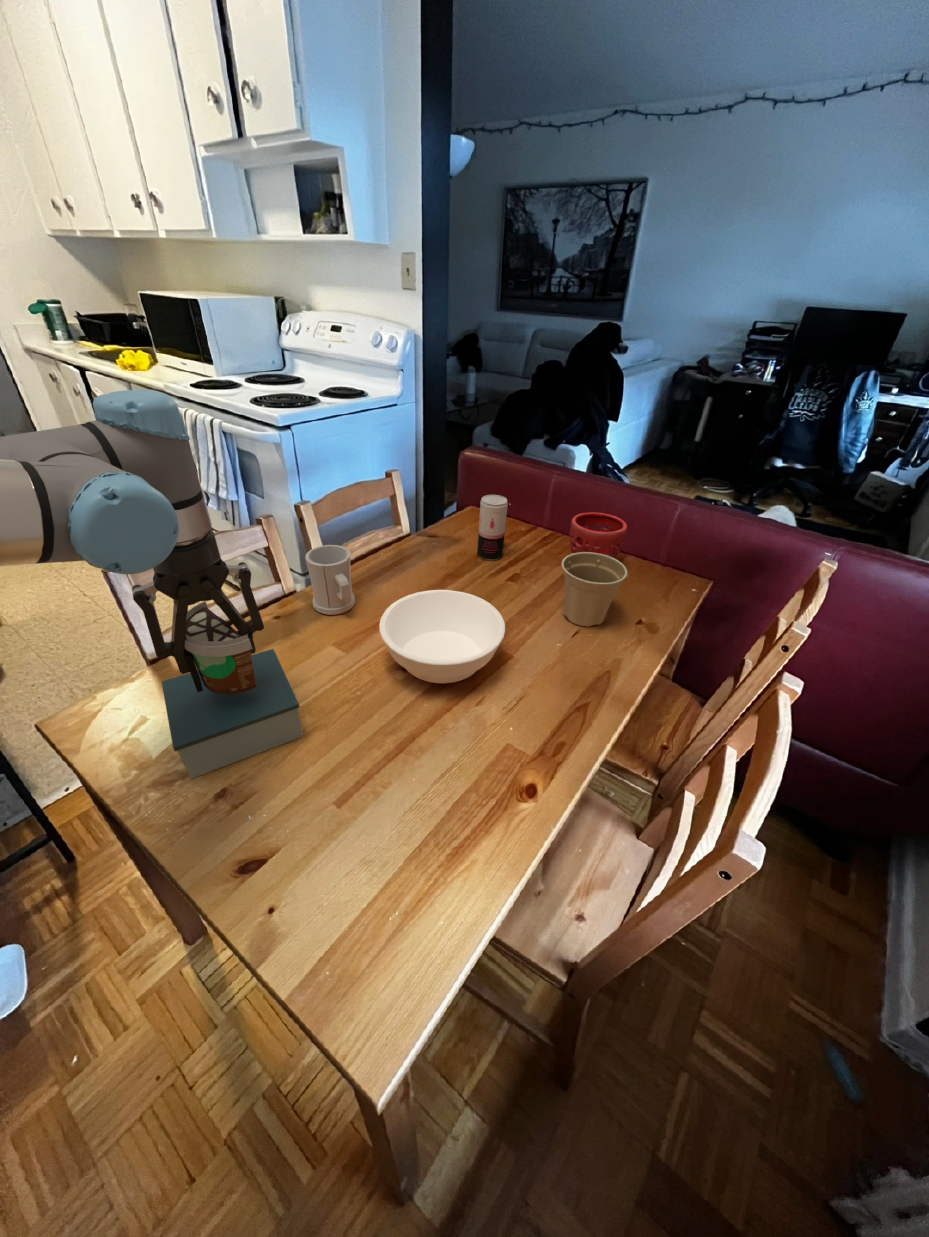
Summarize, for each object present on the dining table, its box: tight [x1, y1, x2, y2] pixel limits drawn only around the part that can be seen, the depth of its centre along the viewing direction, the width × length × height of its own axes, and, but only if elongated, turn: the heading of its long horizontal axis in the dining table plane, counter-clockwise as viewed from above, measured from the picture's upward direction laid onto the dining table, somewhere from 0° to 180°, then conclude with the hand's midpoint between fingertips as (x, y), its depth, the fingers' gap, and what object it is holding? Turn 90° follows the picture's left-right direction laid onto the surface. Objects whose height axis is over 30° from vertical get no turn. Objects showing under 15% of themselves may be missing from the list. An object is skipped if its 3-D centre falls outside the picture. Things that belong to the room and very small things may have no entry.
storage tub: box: [161, 648, 304, 780], centre depth 76 cm, size 17×15×7 cm
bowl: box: [378, 589, 506, 684], centre depth 91 cm, size 22×22×8 cm
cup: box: [304, 544, 356, 616], centre depth 103 cm, size 10×9×12 cm
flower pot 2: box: [560, 552, 628, 628], centre depth 104 cm, size 13×13×12 cm
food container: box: [184, 601, 256, 695], centre depth 70 cm, size 12×6×10 cm, turn 49°
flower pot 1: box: [569, 511, 628, 559], centre depth 123 cm, size 13×13×12 cm
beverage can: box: [476, 494, 509, 561], centre depth 124 cm, size 7×6×15 cm
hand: (224, 677), depth 73 cm, fingers closed on food container, 6 cm apart
